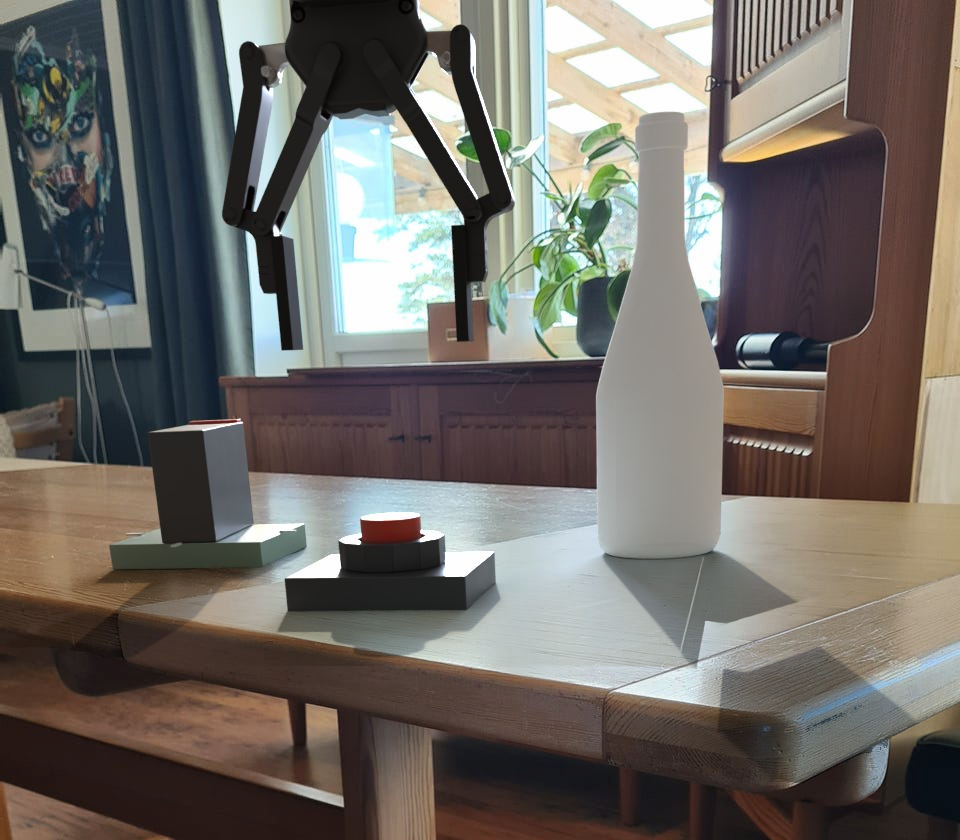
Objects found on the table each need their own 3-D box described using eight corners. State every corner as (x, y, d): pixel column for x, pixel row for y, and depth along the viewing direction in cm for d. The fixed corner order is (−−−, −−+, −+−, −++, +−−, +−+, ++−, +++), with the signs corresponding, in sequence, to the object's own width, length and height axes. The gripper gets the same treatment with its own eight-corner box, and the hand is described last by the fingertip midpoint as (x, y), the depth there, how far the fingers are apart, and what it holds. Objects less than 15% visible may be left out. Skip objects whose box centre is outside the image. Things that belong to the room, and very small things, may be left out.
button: (354, 548, 84) (352, 520, 84) (371, 539, 88) (369, 513, 87) (413, 547, 83) (411, 519, 83) (427, 538, 87) (426, 511, 86)
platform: (88, 574, 103) (83, 546, 102) (167, 546, 117) (163, 521, 116) (266, 571, 100) (263, 543, 99) (326, 543, 114) (324, 518, 113)
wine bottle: (647, 539, 107) (648, 130, 96) (744, 547, 100) (757, 110, 89) (572, 555, 100) (565, 119, 89) (671, 564, 94) (676, 97, 83)
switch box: (287, 612, 84) (281, 550, 82) (333, 585, 93) (328, 528, 91) (466, 611, 81) (463, 546, 80) (496, 583, 90) (493, 525, 89)
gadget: (216, 541, 102) (202, 426, 99) (161, 543, 103) (146, 429, 100) (254, 523, 112) (242, 418, 109) (204, 525, 113) (192, 421, 110)
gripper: (554, -69, 75) (562, 337, 83) (176, -36, 78) (220, 354, 86) (546, -111, 68) (556, 336, 76) (132, -73, 71) (184, 355, 79)
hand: (378, 346), depth 81 cm, fingers open, 10 cm apart
